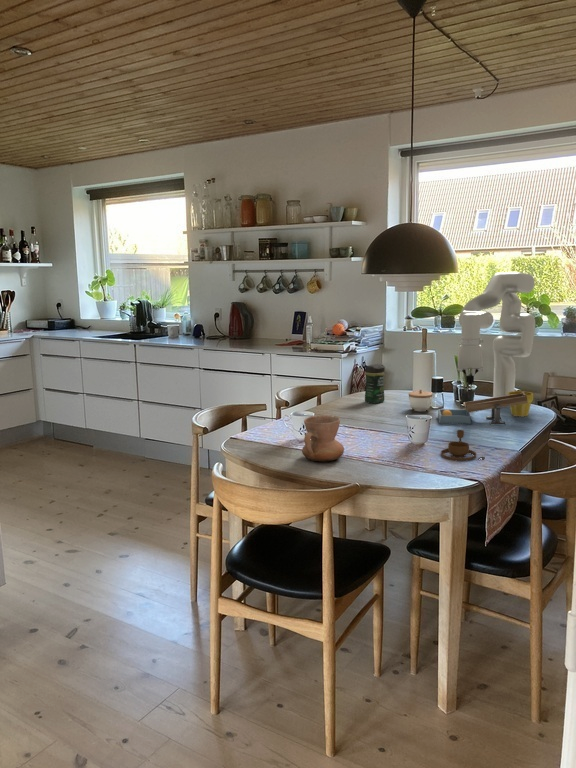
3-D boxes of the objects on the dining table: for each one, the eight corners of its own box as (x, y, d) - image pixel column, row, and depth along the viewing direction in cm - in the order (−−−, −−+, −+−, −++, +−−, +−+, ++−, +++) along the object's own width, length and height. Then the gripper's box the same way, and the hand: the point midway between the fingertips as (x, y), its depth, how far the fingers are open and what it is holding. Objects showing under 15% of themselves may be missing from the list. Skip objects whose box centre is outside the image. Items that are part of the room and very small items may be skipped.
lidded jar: (430, 407, 291) (431, 387, 289) (433, 412, 280) (434, 392, 279) (407, 407, 292) (407, 387, 290) (409, 412, 281) (409, 392, 280)
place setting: (426, 456, 218) (426, 439, 217) (457, 444, 232) (457, 429, 231) (471, 466, 206) (472, 449, 205) (501, 453, 219) (502, 437, 218)
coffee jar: (374, 404, 299) (374, 366, 296) (362, 402, 305) (362, 364, 301) (387, 401, 305) (387, 364, 302) (375, 399, 311) (375, 362, 308)
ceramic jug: (322, 449, 228) (320, 411, 225) (354, 455, 218) (353, 416, 216) (289, 462, 215) (287, 422, 212) (322, 469, 205) (321, 427, 202)
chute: (463, 404, 275) (462, 396, 274) (520, 395, 270) (519, 387, 270) (467, 412, 260) (466, 404, 259) (527, 403, 255) (526, 394, 255)
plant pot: (503, 412, 277) (504, 391, 275) (526, 412, 277) (527, 390, 275) (512, 418, 266) (513, 395, 265) (536, 417, 267) (537, 395, 265)
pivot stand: (486, 417, 268) (486, 399, 266) (500, 418, 267) (501, 399, 266) (490, 424, 257) (490, 405, 255) (505, 424, 256) (506, 405, 254)
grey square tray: (437, 417, 272) (438, 409, 271) (466, 417, 270) (467, 409, 269) (440, 423, 260) (440, 415, 259) (470, 424, 258) (470, 416, 257)
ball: (453, 412, 266) (448, 419, 267) (445, 407, 266) (439, 414, 267) (454, 414, 262) (448, 422, 263) (445, 409, 262) (440, 417, 263)
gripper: (487, 340, 269) (486, 382, 273) (451, 341, 271) (451, 382, 275) (490, 343, 262) (489, 385, 265) (453, 344, 264) (453, 386, 268)
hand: (469, 384), depth 270 cm, fingers closed
